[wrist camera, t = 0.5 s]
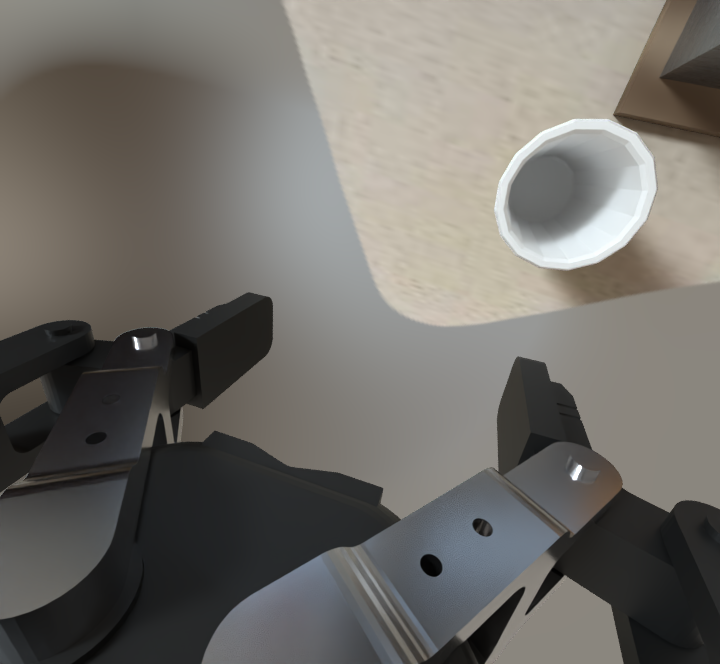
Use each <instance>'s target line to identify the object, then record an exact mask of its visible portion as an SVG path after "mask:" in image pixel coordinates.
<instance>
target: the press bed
mask: <svg viewBox="0 0 720 664" xmlns="http://www.w3.org/2000/svg"><path fill="white" fill-rule="evenodd" d="M696 2H697V0H666V3H665V5H664V7H663V9H662V11H661V13H660V15H659V18H658V20H657V22H656V24H655V26H654V28H653V30H652V33H651V35H650V37H649V39H648V41H647V43H646V45H645V48H644V50H643V52H642V54H641V56H640V58H639V60H638V63H637V65H636V67H635V69H634V71H633V73H632V76H631V78H630V80H629V82H628V84H627V86H626V88H625V91H624V93H623V95H622V97H621V99H620V101H619V103H618V106H617V108H616V110H615V112H614V114H613V115H617V116H622V117H626V118H631V119H636V120H641V121H645V122H650V123H655V124H660V125H664V126H669V127H674V128H679V129H683V130H688V131H693V132H698V133H702V134H707V135H712V136H717V137H720V89H717V88H712V87H706V86H701V85H696V84H690V83H685V82H680V81H675V80H669V79H664V78H659V77H660V75H661V73H662V71H663V69H664V67H665V65H666V63H667V61H668V59H669V57H670V55H671V53H672V51H673V49H674V47H675V45H676V43H677V41H678V39H679V37H680V35H681V33H682V31H683V29H684V27H685V25H686V23H687V21H688V18H689V16H690V14H691V12H692V10H693V8H694V6H695V4H696Z"/></svg>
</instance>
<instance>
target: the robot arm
mask: <svg viewBox="0 0 720 664" xmlns="http://www.w3.org/2000/svg"><path fill="white" fill-rule="evenodd" d="M272 339H273V303H272V300H271V298H270V297H266V296H262V295H258V294H254V293H246V294H244V295H242V296H240V297H238V298H237V299H235V300H233V301H231V302H229V303H227V304H223V305H219V306H216V307H214V308H212V309H210V310H208V311H206V313H202V314H201V315H199V316H197V318H193V319H191V320H189V321H187V322H185V323H183V324H181V325H180V326H177V327H175V328H174V329H172V330H170V331H168V330H166V329H162V328H155V327H147V328H138V329H134V330H130V331H127V332H125V333H123V334H121V335H119V336H118V337H117V338H116V339H115V341H103V340H94V337H93V334H92V329H91V326H90V325H89V324H88V323H86V322H83V321H76V320H66V321H56V322H51V323H46V324H43V325H40V326H37V327H35V328H32V329H29V330H27V331H24V332H22V333H19V334H17V335H14V336H12V337H9V338H6V339H4V340H1V341H0V403H1V401H2V400H3V398H4V397H5V396H6V395H7V394H9V393H10V392H12V391H14V390H16V389H18V388H20V387H21V386H24V385H26V384H27V383H29V382H31V381H33V380H35V379H37V378H39V377H40V380H41V383H42V386H43V389H44V392H45V395H46V398H47V402H45V403H43V404H41V405H40V406H38V407H36V408H35V409H33V410H31V411H29V412H28V413H26V414H24V415H22V416H21V417H19V418H17V419H16V420H14V421H12V422H10V423H9V424H7V425H5V426H4V424H3V422H2V420H1V417H0V492H2V491H3V490H4V489H6V488H7V487H8V488H7V489H6V490H5V491H4V492H3V493H2V495H1V496H0V664H493V663H494V662H495V660H496V659H497V658H498V657H499V655H500V654H501V653H502V652H503V650H504V649H505V648H506V646H507V645H508V643H509V642H510V640H511V639H512V638H513V637H514V635H515V634H516V633H517V632H518V630H519V629H520V628H521V627H522V626H523V625H524V624H525V622H526V621H527V620H528V619H529V618H530V617H531V616H532V615H533V614H534V613H535V612H536V611H537V610H538V608H539V607H540V606H541V605H542V604H543V603H544V602H545V601H546V600H547V599H548V598H549V597H550V596H551V594H552V593H553V592H554V591H555V590H556V589H557V588H558V587H559V586H560V585H561V584H562V583H563V582H564V581H565V580H566V578H567V577H569V578H570V579H572V580H573V581H575V582H577V583H578V584H579V585H581V586H583V587H584V588H586V589H587V590H589V591H590V592H592V593H593V594H595V595H597V596H598V597H600V598H601V599H603V600H605V601H606V602H608V603H609V604H611V607H612V612H613V616H614V621H615V625H616V630H617V635H618V639H619V644H620V648H621V653H622V658H623V662H624V664H720V509H717V508H715V507H713V506H710V505H708V504H704V503H701V502H697V501H681V502H679V503H677V504H676V505H675V507H674V508H673V509H672V511H671V512H670V513H669V512H667V511H665V510H663V509H661V508H658V507H657V506H655V505H653V504H650V503H649V502H647V501H644V500H643V499H641V498H639V497H637V496H635V495H633V494H631V493H629V492H627V491H626V490H625V489H623V488H622V485H623V484H622V479H621V476H620V474H619V472H618V471H617V470H616V469H615V467H614V466H613V465H612V464H611V463H610V462H609V461H607V460H606V459H605V458H604V457H602V456H601V455H599V454H598V453H596V452H595V451H593V450H592V448H591V446H590V443H589V440H588V438H587V435H586V432H585V429H584V426H583V423H582V421H581V420H580V415H579V412H578V410H577V407H576V404H575V401H574V398H573V396H572V395H571V394H570V393H569V392H568V391H567V390H566V389H565V388H564V387H563V385H562V384H559V383H555V382H551V381H550V378H549V374H548V371H547V367H546V364H545V363H544V362H539V361H535V360H531V359H527V358H522V357H517V358H516V359H515V362H514V364H513V367H512V370H511V373H510V376H509V379H508V381H507V384H506V387H505V390H504V393H503V396H502V398H501V402H500V405H499V409H498V416H497V431H498V467H499V472H498V471H497V470H495V469H494V468H487V469H485V470H483V471H481V472H479V473H478V474H476V475H475V476H473V477H471V478H470V479H468V480H466V481H465V482H463V483H461V484H460V485H458V486H456V487H455V488H453V489H451V490H450V491H448V492H446V493H445V494H443V495H441V496H440V497H438V498H436V499H435V500H433V501H431V502H430V503H428V504H426V505H425V506H423V507H422V508H420V509H418V510H417V511H415V512H413V513H412V514H410V515H408V516H407V517H405V518H403V519H402V520H401V519H400V518H399V517H398V516H396V515H395V514H394V513H393V512H391V511H390V510H389V509H388V508H386V507H385V506H383V505H381V504H380V503H381V497H382V493H383V488H381V487H378V486H376V485H373V484H370V483H367V482H364V481H361V480H358V479H355V478H352V477H349V476H346V475H343V474H340V473H336V472H327V471H320V470H311V469H303V468H295V467H289V466H287V465H285V464H283V463H282V462H280V461H279V460H277V459H276V458H274V457H273V456H271V455H269V454H268V453H266V452H265V451H263V450H262V449H260V448H259V447H257V446H256V445H254V444H252V443H250V442H247V441H244V440H241V439H238V438H235V437H232V436H229V435H226V434H223V433H220V432H218V431H214V432H213V433H212V434H211V435H210V436H209V437H208V438H207V439H206V440H205V441H204V442H181V433H182V423H183V409H182V406H184V405H185V404H189V405H193V406H196V407H199V408H202V409H204V408H205V407H206V406H207V405H209V404H210V403H211V402H212V401H213V400H215V399H216V398H217V397H218V396H219V395H220V394H221V393H223V392H224V391H225V390H226V389H227V388H229V387H230V386H231V385H232V384H233V383H234V382H236V381H237V380H238V379H239V378H240V377H241V376H243V375H244V374H245V373H246V372H247V371H249V370H250V369H251V368H252V367H253V366H254V365H256V364H257V363H258V362H259V361H260V360H261V359H263V358H264V357H265V356H266V355H267V354H268V352H269V350H270V348H271V345H272ZM28 472H29V473H28ZM27 473H28V475H27V476H26V478H25V479H24V480H23V481H21V482H19V483H15V484H13V483H14V482H16V481H17V480H18V479H20V478H21V477H23V476H24V475H25V474H27ZM11 484H13V485H11ZM10 485H11V486H10Z"/></svg>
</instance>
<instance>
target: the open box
mask: <svg viewBox="0 0 720 664" xmlns="http://www.w3.org/2000/svg"><path fill="white" fill-rule="evenodd" d="M659 78H664V79H669V80H675V81H680V82H685V83H690V84H696V85H701V86H706V87H712V88H717V89H720V0H697V2H696V4H695V6H694V8H693V10H692V12H691V14H690V16H689V18H688V21H687V23H686V25H685V27H684V29H683V31H682V33H681V35H680V37H679V39H678V41H677V43H676V45H675V47H674V49H673V51H672V53H671V55H670V57H669V59H668V61H667V63H666V65H665V67H664V69H663V71H662V73H661V75H660V77H659Z"/></svg>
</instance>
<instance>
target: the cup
mask: <svg viewBox="0 0 720 664" xmlns="http://www.w3.org/2000/svg"><path fill="white" fill-rule="evenodd" d="M657 190H658V184H657V175H656V166H655V157H654V156H653V155H652V153H651V152H650V150H649V149H648V148H647V146H646V145H645V143H644V142H643V140H642V139H641V138H640V136H639V135H638V133H637V132H634V131H632V130H630V129H628V128H626V127H624V126H622V125H620V124H618V123H616V122H613V121H611V120H609V119H573V120H571V121H568V122H565V123H563V124H560V125H558V126H555V127H553V128H550V129H547V130H545V131H542V132H541V133H540V134H538V135H537V136H536V137H535V138H534V139H532V140H531V141H530V142H529V143H528V144H527V145H525V146H524V147H523V148H522V149H521V150H520V151H518V152H517V153H516V154H515V156H514V157H513V159H512V161H511V162H510V164H509V166H508V167H507V169H506V171H505V172H504V174H503V176H502V178H501V179H500V181H499V185H498V191H497V197H496V202H495V208H494V212H495V216H496V220H497V225H498V229H499V233H500V236H501V238H502V239H503V240H504V241H505V243H506V244H507V245H508V246H509V248H510V249H511V250H512V252H513V253H514V254H515V255H516V256H517V257H519V258H521V259H523V260H525V261H527V262H529V263H531V264H532V265H534V266H536V267H538V268H544V269H554V270H565V271H569V270H573V269H577V268H581V267H585V266H589V265H593V264H597V263H599V262H601V261H602V260H604V259H606V258H607V257H609V256H610V255H612V254H614V253H615V252H617V251H618V250H620V249H622V248H623V247H625V246H626V245H627V244H628V243H629V241H630V240H631V239H632V238H633V237H634V235H635V234H636V233H637V232H638V231H639V229H640V228H641V227H642V226H643V225H644V223H645V222H646V221H647V220H648V217H649V214H650V211H651V208H652V205H653V202H654V199H655V196H656V193H657Z"/></svg>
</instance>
